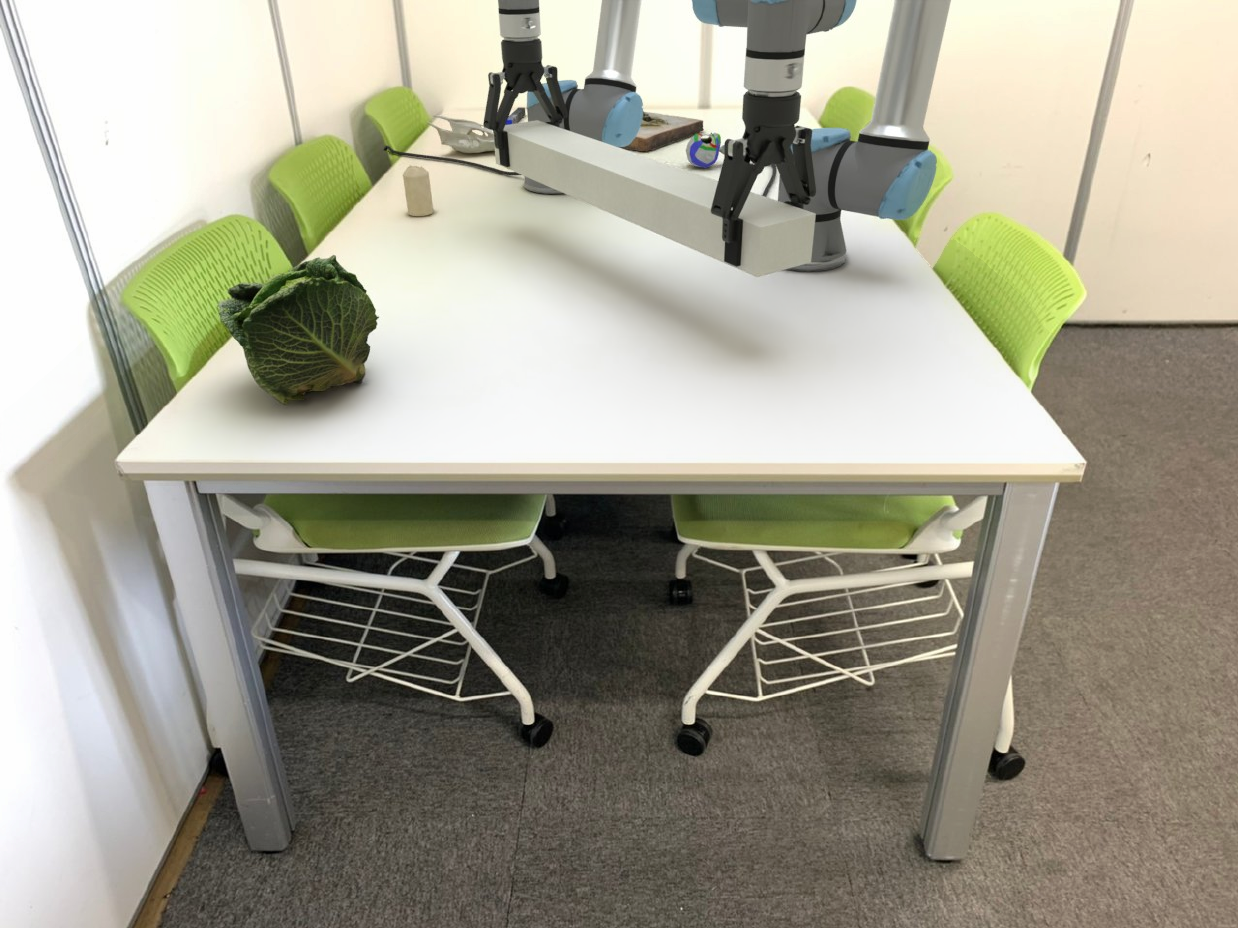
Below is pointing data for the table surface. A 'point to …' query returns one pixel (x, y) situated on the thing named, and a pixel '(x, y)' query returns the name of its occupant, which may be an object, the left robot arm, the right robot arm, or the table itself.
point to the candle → (418, 191)
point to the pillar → (516, 116)
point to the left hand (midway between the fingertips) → (529, 161)
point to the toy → (704, 149)
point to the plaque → (663, 131)
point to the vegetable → (302, 328)
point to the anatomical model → (465, 136)
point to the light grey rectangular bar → (659, 196)
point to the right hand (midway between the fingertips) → (761, 255)
